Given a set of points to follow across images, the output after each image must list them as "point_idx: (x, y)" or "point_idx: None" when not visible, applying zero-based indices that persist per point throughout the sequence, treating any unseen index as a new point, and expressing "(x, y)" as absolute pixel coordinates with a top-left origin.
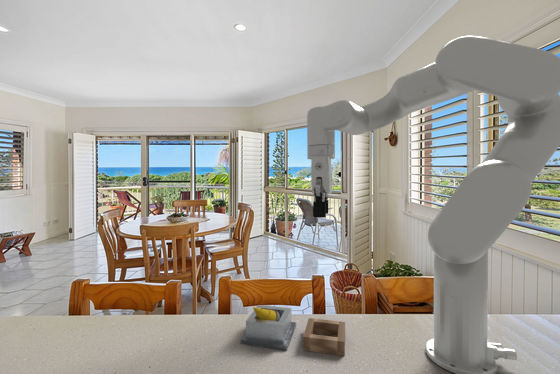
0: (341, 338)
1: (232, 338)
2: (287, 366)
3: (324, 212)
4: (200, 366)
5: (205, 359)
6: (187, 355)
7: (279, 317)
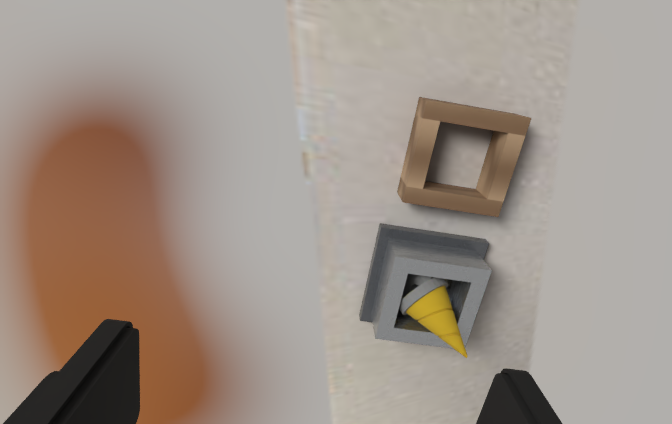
0: (514, 123)
1: None
2: (538, 234)
3: (548, 415)
4: None
5: None
6: None
7: (432, 279)
